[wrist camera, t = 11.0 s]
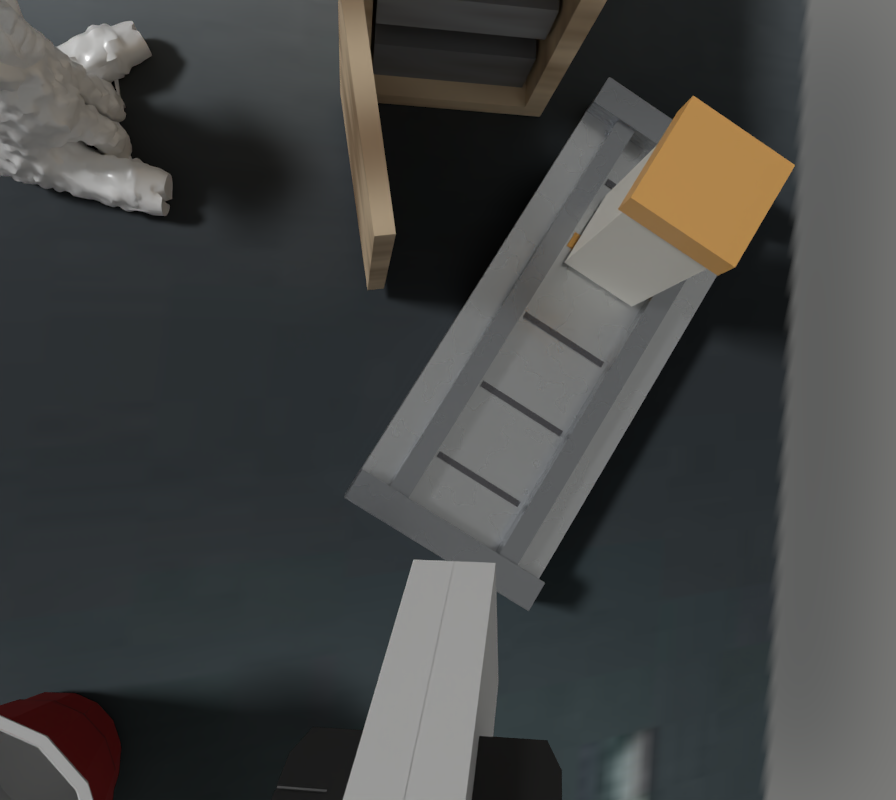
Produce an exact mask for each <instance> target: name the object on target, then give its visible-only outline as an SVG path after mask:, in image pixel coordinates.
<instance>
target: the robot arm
mask: <svg viewBox="0 0 896 800" xmlns="http://www.w3.org/2000/svg"><path fill="white" fill-rule="evenodd" d="M497 691H498V647H497V602H496V563H487V562H460V561H434V560H413V563H412V566H411V570H410V573H409V577H408V580H407V583H406V587H405V590H404V594H403V597H402V600H401V604H400V607H399V611H398V614H397V617H396V621H395V624H394V628H393V631H392V634H391V638H390V641H389V645H388V648H387V651H386V655H385V658H384V662H383V665H382V668H381V672H380V675H379V678H378V682H377V685H376V689H375V692H374V695H373V699H372V702H371V706H370V709H369V712H368V716H367V719H366V723H365V726H364V729H363V730H353V729H338V728H323V727H313V728H312V729H311V730H310V731H309V732H308V733H307V734H306V735H305V736H304V737H303V739H302V740H301V741H300V742H299V743H298V744H297V745H296V746H295V747H294V748H293V749H292V751H291V752H290V753H289V755H288V758H287V760H286V763H285V765H284V768H283V771H282V773H281V776H280V778H279V781H278V783H277V790H275V791H274V793H273V796H272V799H271V800H562V770H561V768H560V766H559V764H558V762H557V760H556V758H555V756H554V754H553V751H552V749H551V747H550V745H549V743H548V741H547V740H533V739H518V738H503V737H493V731H494V721H495V711H496V701H497Z"/></svg>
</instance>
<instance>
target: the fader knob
mask: <svg viewBox="0 0 896 800" xmlns="http://www.w3.org/2000/svg"><path fill="white" fill-rule="evenodd" d="M794 166H795V165H794V164H792V163H791V162H790V161H788V160H787V159H785V158H784V157H782V156H781V155H779V154H778V153H776V152H775V151H774V150H772V149H771V148H769V147H768V146H766V145H765V144H763V143H762V142H760V141H759V140H757V139H756V138H755V137H753V136H752V135H750V134H749V133H747V132H746V131H744V130H743V129H741V128H740V127H738V126H737V125H736V124H734V123H733V122H731V121H730V120H728V119H727V118H725V117H724V116H722V115H721V114H720V113H718V112H717V111H715V110H714V109H712V108H711V107H709V106H708V105H706V104H705V103H703V102H702V101H701V100H699V99H698V98H696V97H695V96H692V97H691V98H690V99H689V100H688V101H687V102H686V104H685V105H684V106H683V107H682V108H681V109H680V110H679V111H678V112H677V113H676V115H675V117H674V118H673V120H672V122H671V123H670V125H669V126H668V128H667V130H666V131H665V133H664V135H663V136H662V138H661V140H660V141H659V143H658V144H657V146H656V147H654V148H653V149H652V150H651V151H650V152H649V153H648V154H647V155H646V156H645V157H644V158H643V159H642V160H641V161H640V162H639V163H638V164H637V165H636V166H635V167H634V168H633V169H632V170H631V171H630V172H629V173H628V174H627V175H626V176H625V177H624V178H623V179H622V180H621V181H620V182H619V183H618V184H617V185H616V186H615V187H614V188H613V189H612V190H611V191H610V192H609V193H608V194H607V195H606V196H605V197H604V199H603V200H602V202H601V204H600V205H599V207H598V208H597V210H596V212H595V213H594V215H593V217H592V218H591V220H590V221H589V223H588V225H587V226H586V228H585V230H584V231H583V233H582V234H581V236H580V238H579V239H578V241H577V243H576V244H575V246H574V247H573V249H572V251H571V252H570V254H569V256H568V257H567V259H566V260H565V262H564V263H566V264H567V265H569V266H570V267H572V268H574V269H575V270H577V271H578V272H580V273H581V274H583V275H584V276H586V277H587V278H589V279H590V280H592V281H593V282H595V283H596V284H598V285H599V286H601V287H602V288H604V289H605V290H607V291H609V292H610V293H612V294H613V295H615V296H616V297H618V298H619V299H621V300H622V301H624V302H625V303H627V304H628V305H630V306H631V307H632V306H634V305H636V304H638V303H640V302H642V301H644V300H646V299H648V298H650V297H652V296H654V295H656V294H658V293H660V292H662V291H664V290H666V289H668V288H670V287H672V286H674V285H676V284H678V283H680V282H682V281H684V280H686V279H688V278H690V277H692V276H694V275H696V274H698V273H700V272H702V271H704V270H706V269H708V270H710V271H711V272H713V273H714V274H716V275H717V276H718V275H720V274H722V273H724V272H727V271H729V270H731V269H733V268H735V267H736V265H737V264H738V262H739V260H740V258H741V257H742V255H743V253H744V252H745V250H746V248H747V246H748V245H749V243H750V241H751V240H752V238H753V236H754V234H755V233H756V231H757V229H758V228H759V226H760V224H761V223H762V221H763V219H764V217H765V216H766V214H767V212H768V211H769V209H770V207H771V205H772V204H773V202H774V200H775V199H776V197H777V195H778V193H779V192H780V190H781V188H782V187H783V185H784V183H785V181H786V180H787V178H788V176H789V175H790V173H791V171H792V170H793V168H794Z"/></svg>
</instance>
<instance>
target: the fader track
mask: <svg viewBox="0 0 896 800" xmlns="http://www.w3.org/2000/svg"><path fill="white" fill-rule="evenodd" d="M671 122H672V119H671V118H669V117H668V116H666V115H665V114H664V113H662V112H661V111H659V110H658V109H656V108H655V107H653V106H652V105H650V104H649V103H647V102H646V101H644V100H643V99H641V98H640V97H639V96H637V95H636V94H634V93H633V92H631V91H630V90H628V89H627V88H625V87H624V86H622V85H621V84H619V83H618V82H617V81H615V80H614V79H612V78H611V77H609V78H608V79H607V81H606V82H605V83H604V85H603V86H602V88H601V89H600V91H599V92H598V93H597V95H596V96H595V98H594V99H593V101H592V102H591V103H590V105H589V106H588V108H587V110H586V111H585V113H584V114H583V116H582V118H581V119H580V121H579V122H578V124H577V126H576V127H575V129H574V130H573V132H572V133H571V135H570V137H569V138H568V140H567V141H566V143H565V145H564V146H563V148H562V149H561V151H560V153H559V154H558V156H557V157H556V159H555V160H554V162H553V164H552V165H551V167H550V168H549V170H548V172H547V173H546V175H545V176H544V178H543V180H542V181H541V183H540V184H539V186H538V187H537V189H536V191H535V192H534V194H533V195H532V197H531V199H530V200H529V202H528V203H527V205H526V207H525V208H524V210H523V211H522V213H521V214H520V216H519V218H518V219H517V221H516V222H515V224H514V226H513V227H512V229H511V230H510V232H509V234H508V235H507V237H506V238H505V240H504V242H503V243H502V245H501V246H500V248H499V249H498V251H497V253H496V254H495V256H494V257H493V259H492V261H491V262H490V264H489V265H488V267H487V269H486V270H485V272H484V273H483V275H482V276H481V278H480V280H479V281H478V283H477V284H476V286H475V288H474V289H473V291H472V292H471V294H470V296H469V297H468V299H467V300H466V302H465V303H464V305H463V307H462V308H461V310H460V311H459V313H458V315H457V316H456V318H455V319H454V321H453V323H452V324H451V326H450V327H449V329H448V330H447V332H446V334H445V335H444V337H443V338H442V340H441V342H440V343H439V345H438V346H437V348H436V350H435V351H434V353H433V354H432V356H431V358H430V359H429V361H428V362H427V364H426V365H425V367H424V369H423V370H422V372H421V373H420V375H419V377H418V378H417V380H416V381H415V383H414V385H413V386H412V388H411V389H410V391H409V392H408V394H407V396H406V397H405V399H404V400H403V402H402V404H401V405H400V407H399V408H398V410H397V412H396V413H395V415H394V416H393V418H392V419H391V421H390V423H389V424H388V426H387V427H386V429H385V431H384V432H383V434H382V435H381V437H380V439H379V440H378V442H377V443H376V445H375V446H374V448H373V450H372V451H371V453H370V454H369V456H368V458H367V459H366V461H365V462H364V464H363V466H362V467H361V469H360V470H359V472H358V473H357V475H356V477H355V478H354V480H353V481H352V483H351V485H350V486H349V488H348V489H347V491H346V493H345V498H346V499H348V500H349V501H351V502H352V503H354V504H356V505H357V506H359V507H361V508H362V509H364V510H365V511H367V512H369V513H370V514H372V515H374V516H375V517H377V518H378V519H380V520H382V521H383V522H385V523H387V524H388V525H390V526H391V527H393V528H395V529H396V530H398V531H400V532H401V533H403V534H404V535H406V536H408V537H409V538H411V539H413V540H414V541H416V542H417V543H419V544H421V545H422V546H424V547H425V548H427V549H429V550H430V551H432V552H434V553H435V554H437V555H438V556H440V557H442V558H443V559H445V560H447V561H460V562H487V563H496V591H497V592H499V593H500V594H502V595H503V596H505V597H507V598H508V599H510V600H512V601H513V602H515V603H516V604H518V605H520V606H521V607H523V608H525V609H526V610H528V611H529V610H530V608H531V606H532V604H533V603H534V601H535V599H536V598H537V596H538V594H539V593H540V591H541V589H542V587H543V586H544V584H545V582H543V581H542V580H540V579H539V578H540V576H541V574H542V573H543V571H544V569H545V568H546V566H547V564H548V563H549V561H550V559H551V557H552V556H553V554H554V552H555V551H556V549H557V547H558V546H559V544H560V542H561V540H562V539H563V537H564V535H565V534H566V532H567V530H568V528H569V527H570V525H571V523H572V522H573V520H574V518H575V517H576V515H577V513H578V511H579V510H580V508H581V506H582V505H583V503H584V501H585V500H586V498H587V496H588V494H589V493H590V491H591V489H592V488H593V486H594V484H595V482H596V481H597V479H598V477H599V476H600V474H601V472H602V471H603V469H604V467H605V465H606V464H607V462H608V460H609V459H610V457H611V455H612V454H613V452H614V450H615V448H616V447H617V445H618V443H619V442H620V440H621V438H622V437H623V435H624V433H625V431H626V430H627V428H628V426H629V425H630V423H631V421H632V419H633V418H634V416H635V414H636V413H637V411H638V409H639V408H640V406H641V404H642V402H643V401H644V399H645V397H646V396H647V394H648V392H649V391H650V389H651V387H652V385H653V384H654V382H655V380H656V379H657V377H658V375H659V374H660V372H661V370H662V368H663V367H664V365H665V363H666V362H667V360H668V358H669V356H670V355H671V353H672V351H673V350H674V348H675V346H676V345H677V343H678V341H679V339H680V338H681V336H682V334H683V333H684V331H685V329H686V328H687V326H688V324H689V322H690V321H691V319H692V317H693V316H694V314H695V312H696V310H697V309H698V307H699V305H700V304H701V302H702V300H703V299H704V297H705V295H706V293H707V292H708V290H709V288H710V287H711V285H712V283H713V282H714V280H715V278H716V276H717V275H716V274H714V273H713V272H711V271H710V270H708V269H706V270H704V271H702V272H700V273H698V274H696V275H694V276H692V277H690V278H688V279H686V280H684V281H682V282H680V283H678V284H676V285H674V286H672V287H670V288H668V289H666V290H664V291H662V292H660V293H658V294H656V295H654V296H652V297H650V298H648V299H646V300H644V301H642V302H640V303H638V304H636V305H634V306H632V307H631V306H630V305H628V304H627V303H625V302H624V301H622V300H621V299H619V298H618V297H616V296H615V295H613V294H612V293H610V292H609V291H607V290H605V289H604V288H602V287H601V286H599V285H598V284H596V283H595V282H593V281H592V280H590V279H589V278H587V277H586V276H584V275H583V274H581V273H580V272H578V271H577V270H575V269H574V268H572V267H570V266H569V265H567V264H566V263H564V262H565V260H566V259H567V257H568V256H569V254H570V252H571V251H572V249H573V247H574V246H575V244H576V243H577V241H578V239H579V238H580V236H581V234H582V233H583V231H584V230H585V228H586V226H587V225H588V223H589V221H590V220H591V218H592V217H593V215H594V213H595V212H596V210H597V208H598V207H599V205H600V204H601V202H602V200H603V199H604V197H605V196H606V195H607V194H608V193H609V192H610V191H611V190H612V189H613V188H614V187H615V186H616V185H617V184H618V183H619V182H620V181H621V180H622V179H623V178H624V177H625V176H626V175H627V174H628V173H629V172H630V171H631V170H632V169H633V168H634V167H635V166H636V165H637V164H638V163H639V162H640V161H641V160H642V159H643V158H644V157H645V156H646V155H647V154H648V153H649V152H650V151H651V150H652V149H653V148H654V147H656V146H657V144H658V143H659V141H660V140H661V138H662V136H663V135H664V133H665V131H666V130H667V128H668V126H669V125H670V123H671Z"/></svg>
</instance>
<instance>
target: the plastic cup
mask: <svg viewBox="0 0 896 800" xmlns="http://www.w3.org/2000/svg"><path fill="white" fill-rule="evenodd" d="M120 744H121V743H120V740H119V737H118V734H117V731H116V727H115V724H114V721H113V720H112V719H111V717H110V716H109V715H108V714H107V713H106V712H105V711H104V710H103V709H102V708H101V706H100V705H99V704H98V703H96V702H94V701H92V700H90V699H87V698H85V697H83V696H81V695H78V694H76V693H51V692H44V693H41V694H39V695H36V696H33V697H30V698H28V699H25V700H21V699H19V700H16V701H13V702H10V703H7V704H4V705H0V800H113V793H114V788H115V785H116V781H117V778H118V775H119V766H120V755H121V745H120Z"/></svg>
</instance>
